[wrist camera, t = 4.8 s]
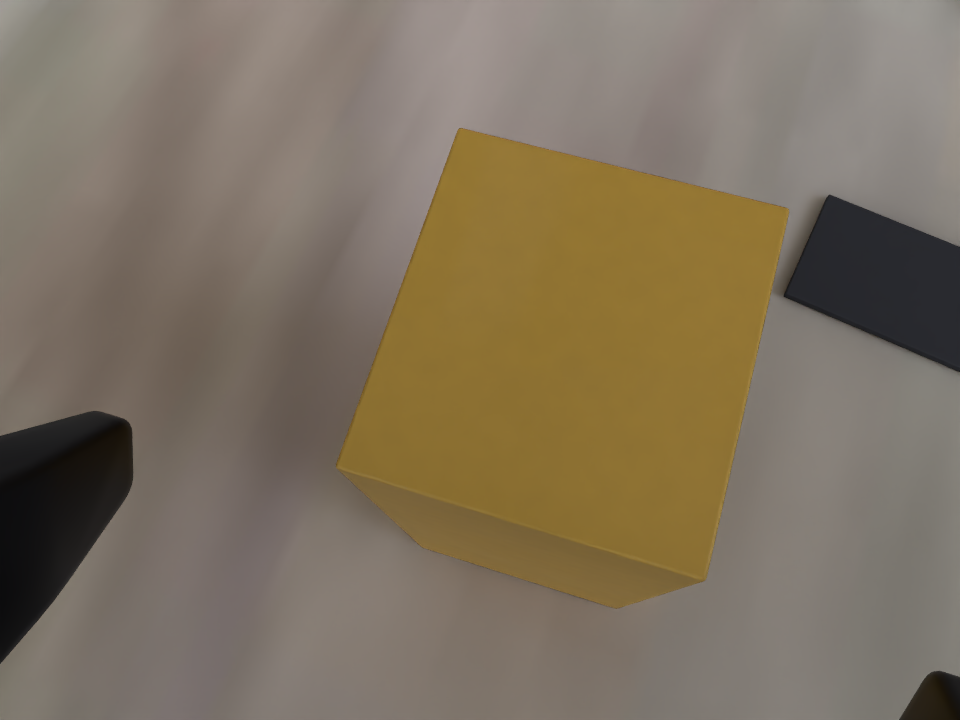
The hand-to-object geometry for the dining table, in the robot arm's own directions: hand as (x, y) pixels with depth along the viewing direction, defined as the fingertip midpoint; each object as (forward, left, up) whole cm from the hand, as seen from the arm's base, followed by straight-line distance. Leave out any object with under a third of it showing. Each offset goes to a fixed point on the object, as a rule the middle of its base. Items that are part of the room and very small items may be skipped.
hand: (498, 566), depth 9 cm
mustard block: (+1, +3, -10) cm, 11 cm away
